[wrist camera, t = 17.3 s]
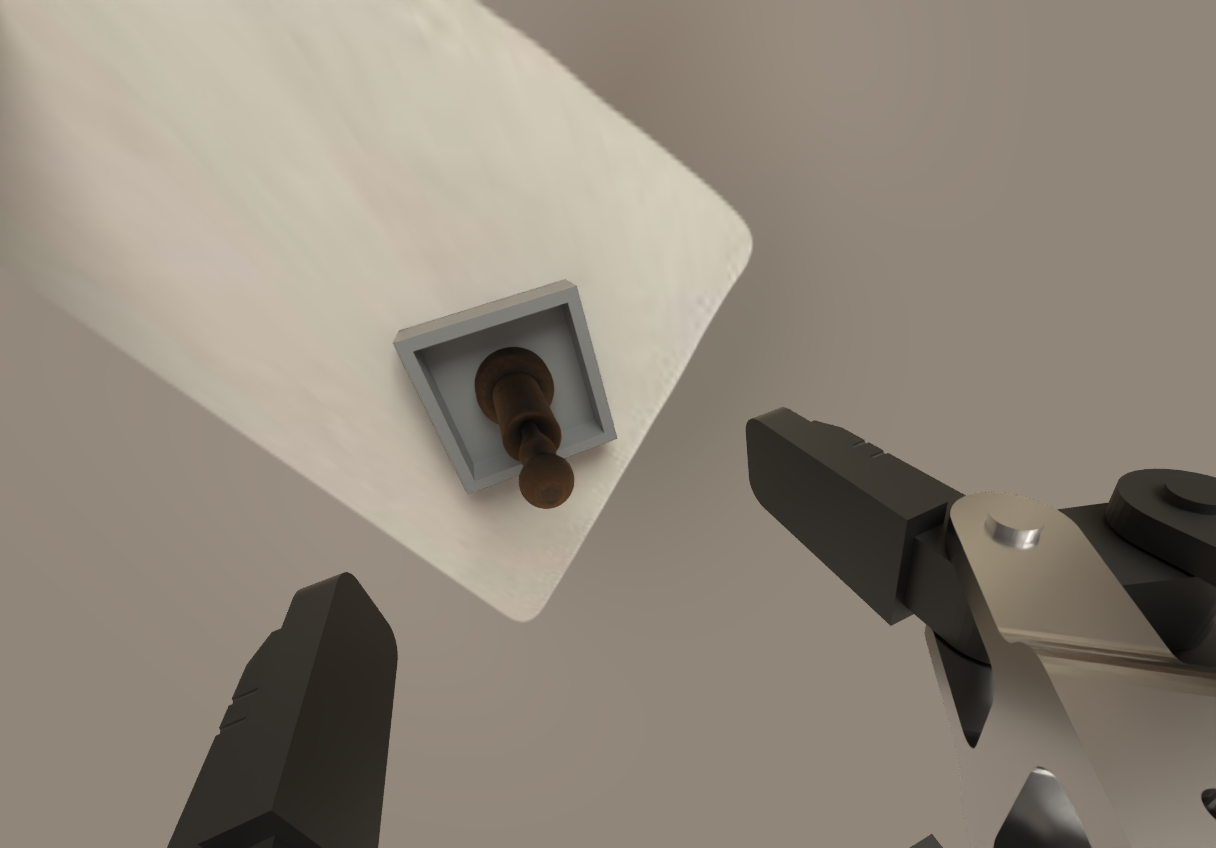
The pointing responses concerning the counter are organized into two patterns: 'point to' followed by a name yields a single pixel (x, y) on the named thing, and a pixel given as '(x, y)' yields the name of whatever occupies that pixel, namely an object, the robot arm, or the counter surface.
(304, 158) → the counter surface
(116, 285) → the counter surface
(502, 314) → the tray
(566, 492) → the turned wooden knob
